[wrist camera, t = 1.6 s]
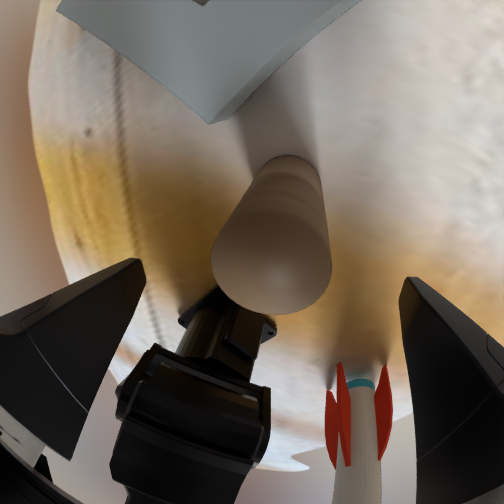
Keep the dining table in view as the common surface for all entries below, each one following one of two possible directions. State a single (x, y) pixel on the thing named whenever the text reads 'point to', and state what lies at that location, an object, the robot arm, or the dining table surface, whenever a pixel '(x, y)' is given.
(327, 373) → the dining table surface
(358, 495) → the toy rocket
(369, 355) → the dining table surface
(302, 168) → the walnut peg
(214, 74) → the socket block
